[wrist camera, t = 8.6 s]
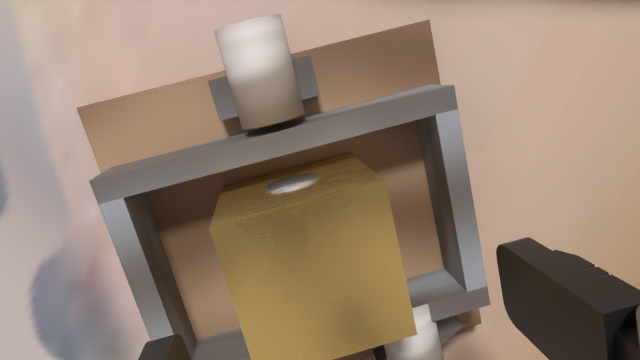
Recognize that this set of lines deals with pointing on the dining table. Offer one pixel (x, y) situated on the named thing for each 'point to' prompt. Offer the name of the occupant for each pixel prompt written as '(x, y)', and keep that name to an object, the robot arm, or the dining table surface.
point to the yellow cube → (313, 261)
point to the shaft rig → (280, 153)
